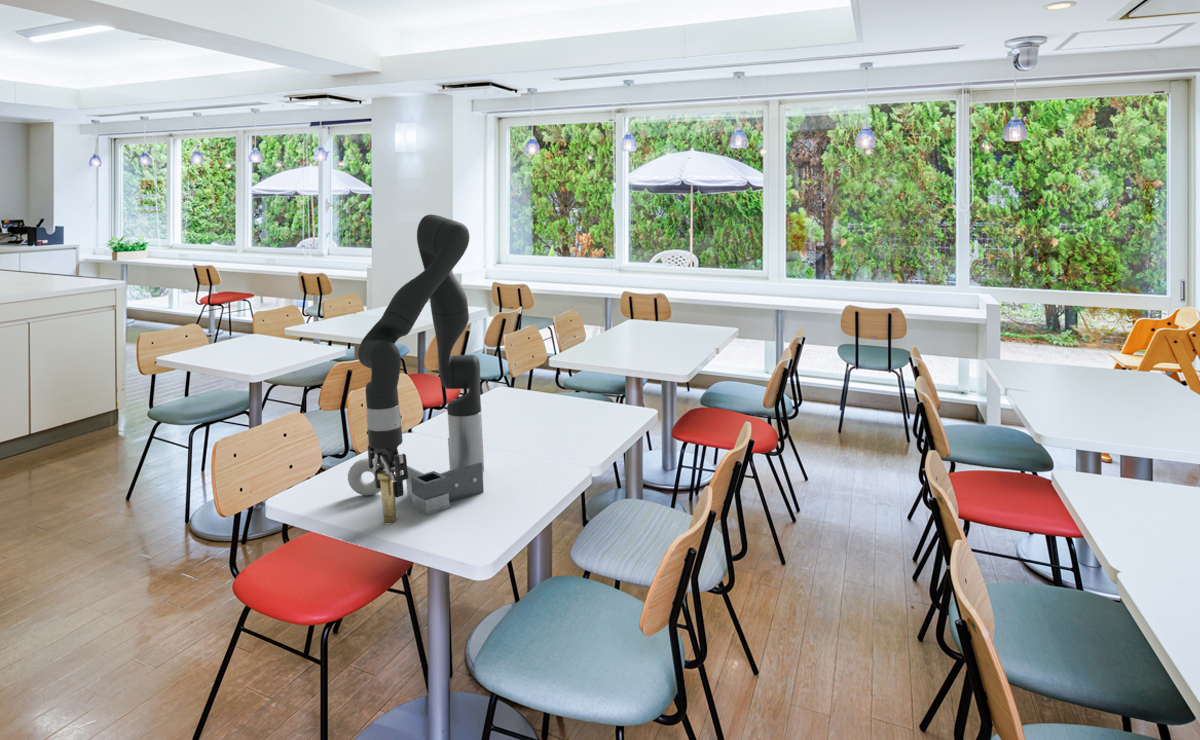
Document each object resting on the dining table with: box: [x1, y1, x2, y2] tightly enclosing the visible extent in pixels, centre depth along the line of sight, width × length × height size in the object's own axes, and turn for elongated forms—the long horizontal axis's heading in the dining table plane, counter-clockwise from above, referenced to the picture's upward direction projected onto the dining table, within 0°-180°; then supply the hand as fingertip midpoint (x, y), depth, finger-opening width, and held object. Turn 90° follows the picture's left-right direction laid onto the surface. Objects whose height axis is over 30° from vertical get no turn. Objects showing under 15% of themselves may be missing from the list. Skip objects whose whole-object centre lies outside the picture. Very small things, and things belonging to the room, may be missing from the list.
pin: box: [377, 471, 398, 524], centre depth 169 cm, size 4×4×12 cm
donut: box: [347, 457, 386, 496], centre depth 185 cm, size 10×3×10 cm, turn 100°
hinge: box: [405, 462, 485, 516], centre depth 183 cm, size 14×18×8 cm
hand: (389, 491), depth 168 cm, fingers open, 8 cm apart
